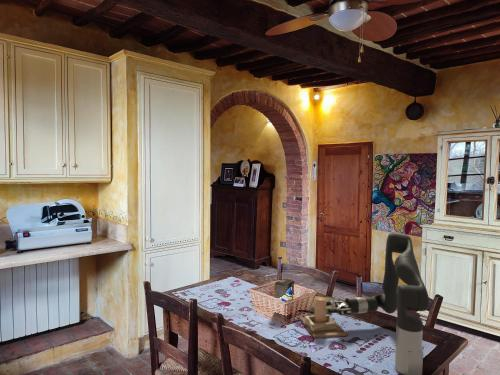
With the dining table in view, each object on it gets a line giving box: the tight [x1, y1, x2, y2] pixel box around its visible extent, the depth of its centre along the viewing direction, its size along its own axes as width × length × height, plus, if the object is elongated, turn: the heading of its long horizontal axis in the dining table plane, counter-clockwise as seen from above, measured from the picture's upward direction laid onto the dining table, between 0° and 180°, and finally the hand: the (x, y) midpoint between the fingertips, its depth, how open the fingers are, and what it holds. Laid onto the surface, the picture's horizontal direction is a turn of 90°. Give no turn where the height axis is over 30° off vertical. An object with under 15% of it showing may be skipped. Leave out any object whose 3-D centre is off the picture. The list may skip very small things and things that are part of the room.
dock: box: [299, 314, 348, 339], centre depth 178 cm, size 20×16×4 cm
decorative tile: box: [311, 295, 333, 315], centre depth 205 cm, size 19×20×4 cm
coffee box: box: [274, 278, 295, 298], centre depth 197 cm, size 9×6×16 cm
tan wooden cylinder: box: [313, 296, 327, 323], centre depth 178 cm, size 5×5×13 cm
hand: (324, 307), depth 178 cm, fingers open, 8 cm apart
